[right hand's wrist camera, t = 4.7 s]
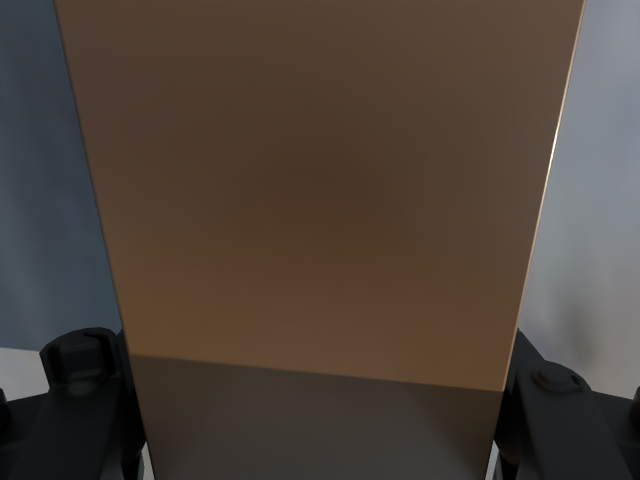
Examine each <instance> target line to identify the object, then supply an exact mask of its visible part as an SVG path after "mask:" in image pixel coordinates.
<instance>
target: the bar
mask: <svg viewBox="0 0 640 480" xmlns="http://www.w3.org/2000/svg"><path fill="white" fill-rule="evenodd" d="M586 1H587V0H53V4H54V8H55V13H56V18H57V22H58V27H59V32H60V36H61V41H62V46H63V51H64V55H65V60H66V65H67V69H68V74H69V79H70V84H71V88H72V93H73V98H74V102H75V107H76V112H77V117H78V121H79V126H80V131H81V135H82V140H83V145H84V149H85V154H86V159H87V164H88V168H89V173H90V178H91V182H92V187H93V192H94V197H95V201H96V206H97V211H98V215H99V220H100V225H101V229H102V234H103V239H104V244H105V248H106V253H107V258H108V262H109V267H110V272H111V277H112V281H113V286H114V291H115V295H116V300H117V305H118V309H119V314H120V319H121V324H122V328H123V333H124V338H125V342H126V347H127V352H128V357H129V361H130V366H131V371H132V375H133V380H134V385H135V390H136V394H137V399H138V404H139V408H140V413H141V418H142V422H143V427H144V432H145V437H146V441H147V446H148V451H149V455H150V460H151V465H152V470H153V474H154V479H155V480H485V477H486V473H487V468H488V463H489V459H490V454H491V449H492V444H493V440H494V435H495V430H496V426H497V421H498V416H499V411H500V407H501V402H502V397H503V393H504V388H505V383H506V378H507V374H508V369H509V364H510V360H511V355H512V350H513V345H514V341H515V336H516V331H517V326H518V322H519V317H520V312H521V308H522V303H523V298H524V293H525V289H526V284H527V279H528V275H529V270H530V265H531V260H532V256H533V251H534V246H535V242H536V237H537V232H538V227H539V223H540V218H541V213H542V208H543V204H544V199H545V194H546V190H547V185H548V180H549V175H550V171H551V166H552V161H553V157H554V152H555V147H556V142H557V138H558V133H559V128H560V124H561V119H562V114H563V109H564V105H565V100H566V95H567V90H568V86H569V81H570V76H571V72H572V67H573V62H574V57H575V53H576V48H577V43H578V39H579V34H580V29H581V24H582V20H583V15H584V10H585V6H586Z"/></svg>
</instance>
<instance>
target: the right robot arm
mask: <svg viewBox="0 0 640 480" xmlns="http://www.w3.org/2000/svg"><path fill="white" fill-rule="evenodd" d="M39 354H40V358H41V361H42V364H43V367H44V371H45V374H46V377H47V380H48V383H49V387H50V389H49V391H48V393H44V394H40V395H36V396H31V397H26V398H22V399H17V400H12V401H7V400H6V397H5V394H4V392H3V390H2V389H1V388H0V480H143V475H144V462H143V456H142V452H141V451H142V448H143V446H144V444H145V442H146V437H145V432H144V427H143V422H142V418H141V413H140V408H139V404H138V399H137V394H136V390H135V385H134V380H133V375H132V371H131V366H130V361H129V357H128V352H127V347H126V342H125V338H124V333H123V328H122V330H121V333H118V335H117V336H116V334H115V333H114V332H112V331H111V330H110V329H105V328H100V327H97V328H85V329H81V330H76V331H72V332H70V333H67V334H65V335H62V336H60V337H58V338H56V339H55V340H53V341H52V342H50V343H48V344H47V345H46V346H45V347H44V348H43V349H42V350H41V351H40V353H39ZM494 441H495V443H496V445H497V447H498V449H499V452H498V456H497V461H496V465H495V470H494V474H493V479H492V480H640V386H639V387H638V388H637V391H636V393H635V396H634V399H633V400H632V399H627V398H622V397H617V396H613V395H608V394H603V393H599V392H595V391H592V390H591V388H590V387H589V385H588V384H587V383H586V381H585V380H584V379H583V378H582V377H581V376H579V375H578V374H577V373H575V372H574V371H573V370H571V369H569V368H566V367H564V366H562V365H560V364H557V363H554V362H550V361H546V360H544V358H543V357H542V356H541V355H540V354H539V352H538V351H537V350H536V349H535V348H534V346H533V345H532V344H531V343H530V342H529V340H528V339H527V338H526V337H525V335H524V334H523V333H522V332H520V331H519V328H518V327H517V331H516V336H515V341H514V345H513V350H512V355H511V360H510V364H509V369H508V374H507V378H506V383H505V388H504V393H503V397H502V402H501V407H500V411H499V416H498V421H497V426H496V430H495V435H494Z"/></svg>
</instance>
